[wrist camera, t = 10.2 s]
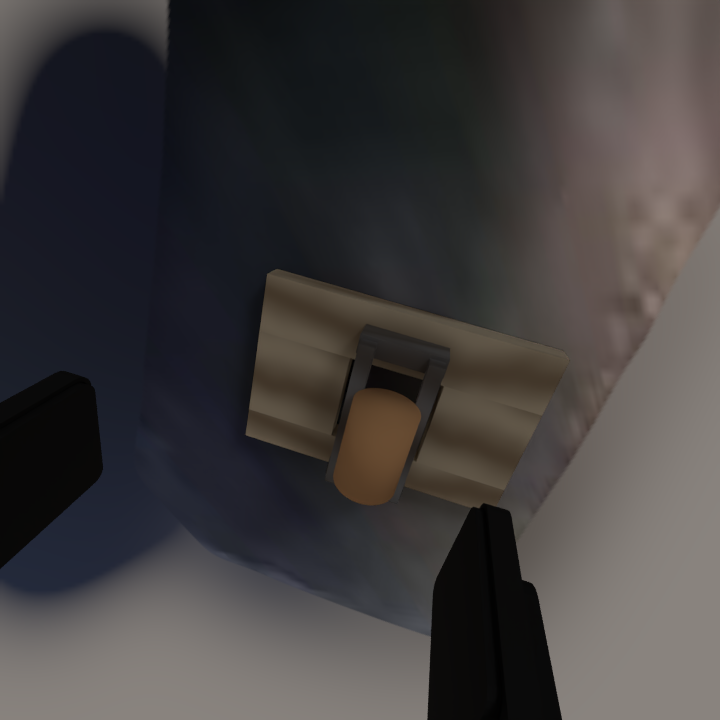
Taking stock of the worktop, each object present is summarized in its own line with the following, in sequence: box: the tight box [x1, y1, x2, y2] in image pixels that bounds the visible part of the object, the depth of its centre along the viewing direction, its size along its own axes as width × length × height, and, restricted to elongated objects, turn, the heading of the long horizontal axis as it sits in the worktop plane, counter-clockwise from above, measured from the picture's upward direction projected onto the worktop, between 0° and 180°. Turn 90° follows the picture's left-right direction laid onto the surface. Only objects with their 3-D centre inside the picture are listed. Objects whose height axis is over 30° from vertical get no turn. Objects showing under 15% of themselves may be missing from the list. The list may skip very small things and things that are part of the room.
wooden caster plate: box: [246, 269, 570, 508], centre depth 34 cm, size 16×24×6 cm, turn 76°
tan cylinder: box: [333, 388, 421, 505], centre depth 31 cm, size 7×5×5 cm
